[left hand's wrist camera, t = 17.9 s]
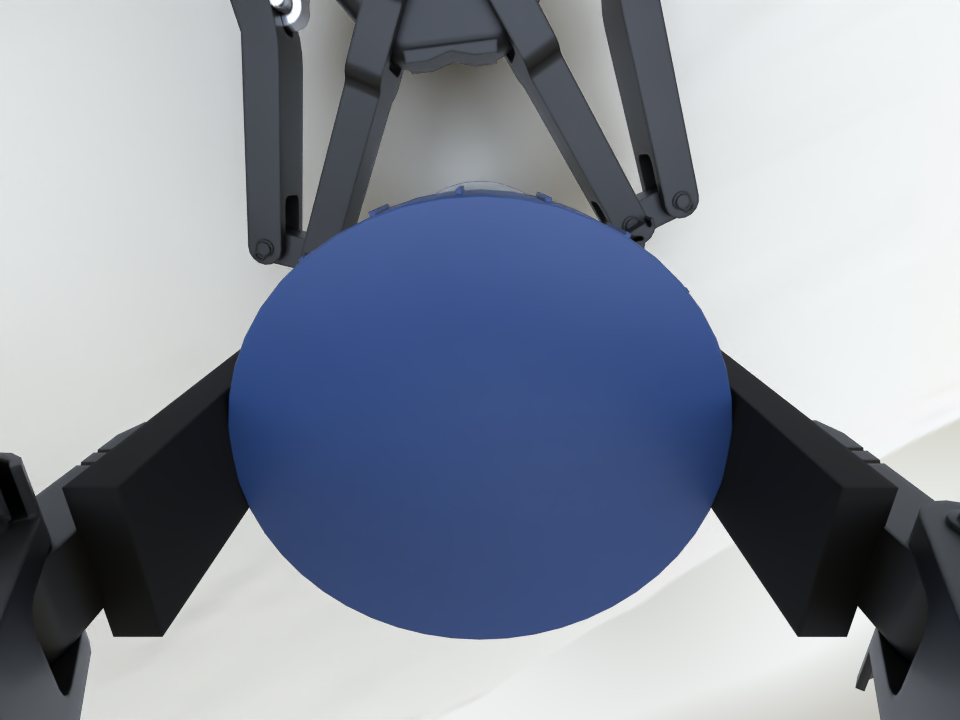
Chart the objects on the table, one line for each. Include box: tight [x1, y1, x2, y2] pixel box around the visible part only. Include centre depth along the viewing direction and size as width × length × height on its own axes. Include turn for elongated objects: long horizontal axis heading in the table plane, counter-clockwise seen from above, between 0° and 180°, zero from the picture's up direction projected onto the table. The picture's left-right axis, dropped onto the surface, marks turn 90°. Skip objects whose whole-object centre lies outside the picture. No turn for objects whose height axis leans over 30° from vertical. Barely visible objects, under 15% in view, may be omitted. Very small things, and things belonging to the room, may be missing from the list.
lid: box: [228, 186, 732, 640], centre depth 11 cm, size 10×10×2 cm
